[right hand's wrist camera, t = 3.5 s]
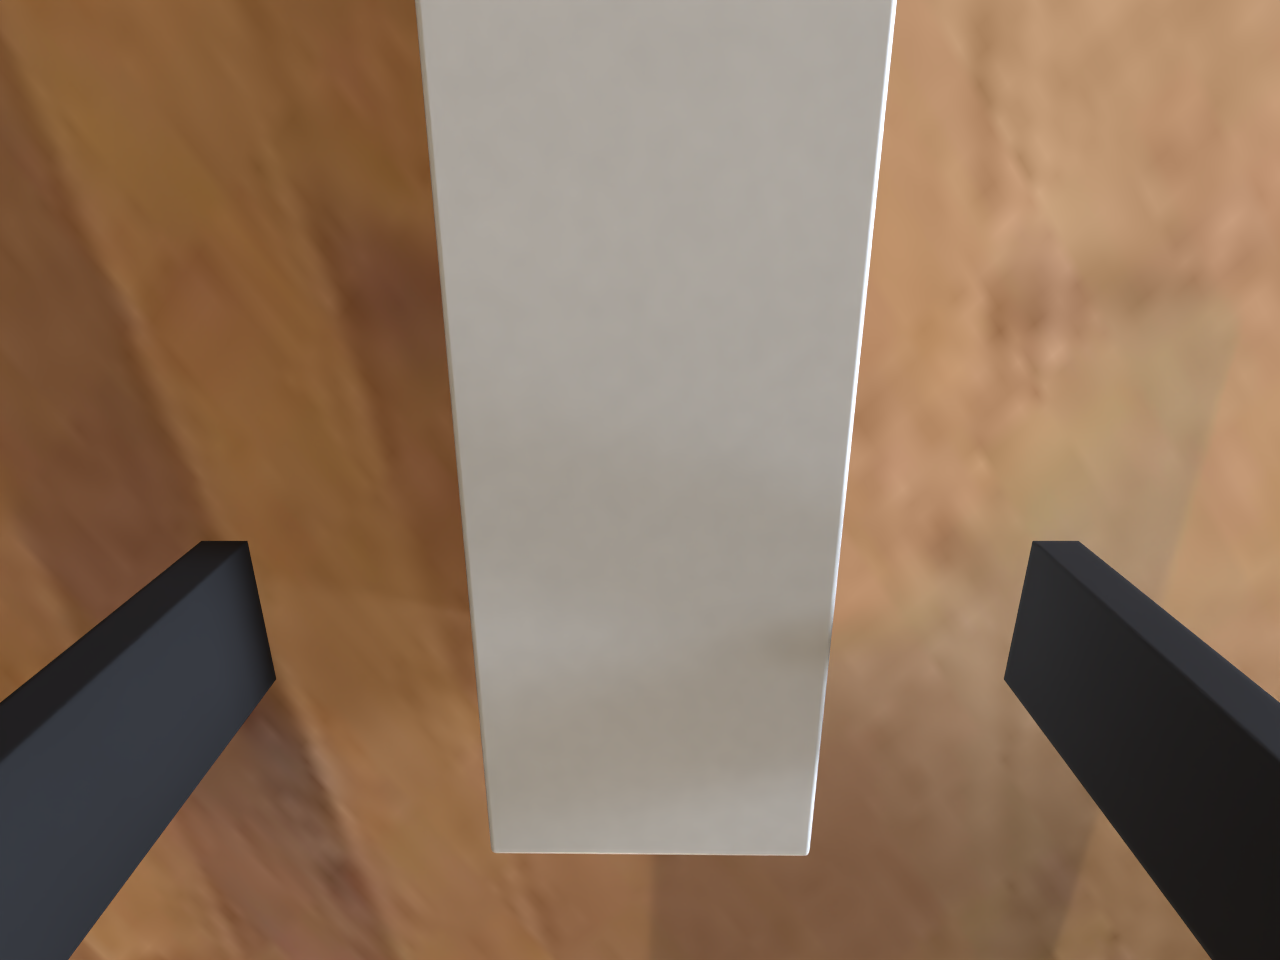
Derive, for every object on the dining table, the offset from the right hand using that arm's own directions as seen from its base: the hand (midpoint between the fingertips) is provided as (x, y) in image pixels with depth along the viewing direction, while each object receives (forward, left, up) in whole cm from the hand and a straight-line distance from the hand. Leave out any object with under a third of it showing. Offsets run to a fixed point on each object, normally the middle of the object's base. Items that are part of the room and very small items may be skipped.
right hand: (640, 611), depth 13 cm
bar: (+4, -35, -7) cm, 36 cm away
